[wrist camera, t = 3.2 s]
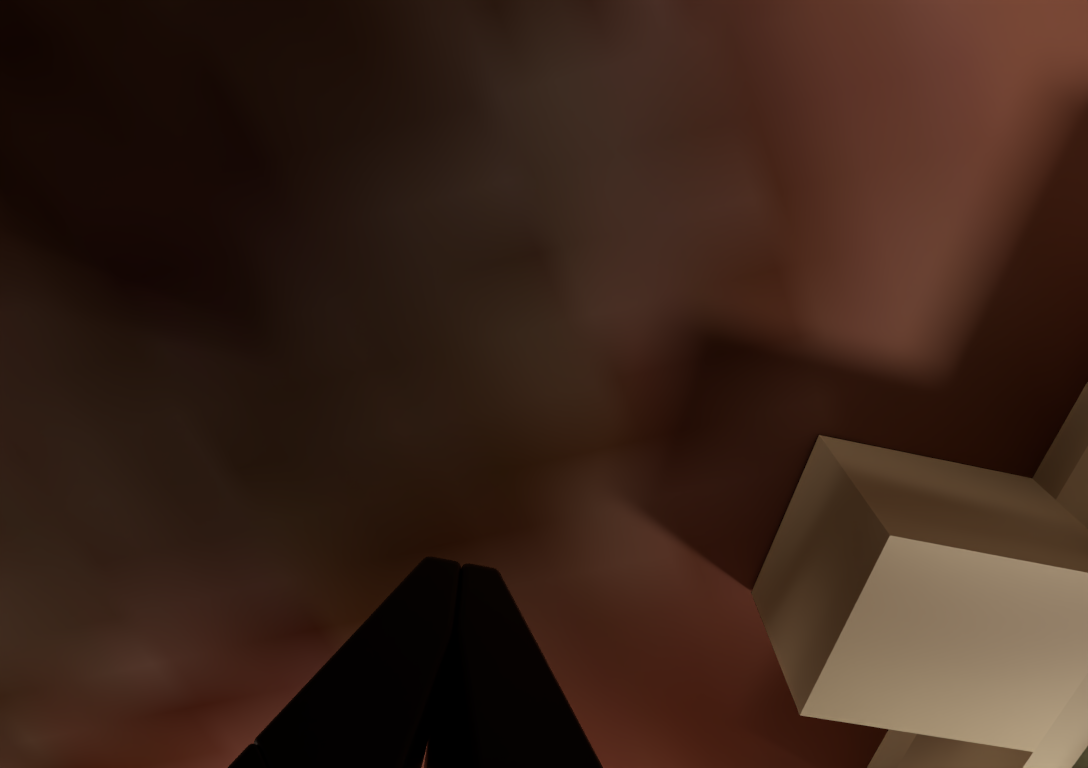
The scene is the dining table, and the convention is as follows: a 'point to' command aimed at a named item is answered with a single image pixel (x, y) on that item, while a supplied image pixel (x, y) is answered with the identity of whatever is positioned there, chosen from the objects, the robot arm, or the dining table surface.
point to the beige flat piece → (938, 602)
